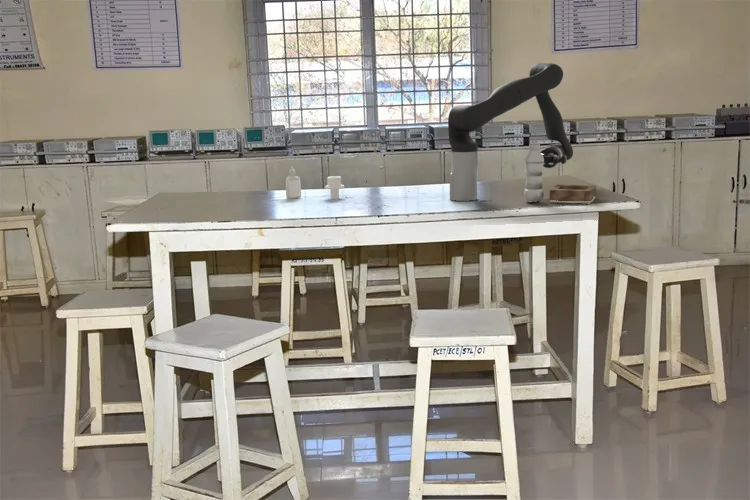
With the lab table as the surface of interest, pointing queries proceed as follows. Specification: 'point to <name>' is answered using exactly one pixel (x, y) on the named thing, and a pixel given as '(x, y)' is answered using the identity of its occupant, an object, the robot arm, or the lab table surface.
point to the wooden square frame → (572, 193)
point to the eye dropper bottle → (293, 185)
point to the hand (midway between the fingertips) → (542, 161)
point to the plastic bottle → (534, 174)
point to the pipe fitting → (334, 186)
